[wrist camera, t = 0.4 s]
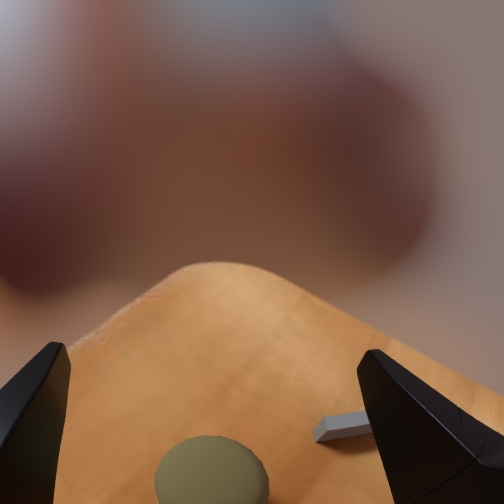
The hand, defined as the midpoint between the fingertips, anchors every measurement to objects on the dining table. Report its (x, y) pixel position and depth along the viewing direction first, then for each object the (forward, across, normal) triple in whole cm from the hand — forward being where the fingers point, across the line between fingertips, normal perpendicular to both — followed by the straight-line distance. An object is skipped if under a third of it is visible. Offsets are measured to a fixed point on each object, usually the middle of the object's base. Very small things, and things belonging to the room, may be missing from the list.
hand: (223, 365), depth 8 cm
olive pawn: (+1, -1, +17) cm, 17 cm away
